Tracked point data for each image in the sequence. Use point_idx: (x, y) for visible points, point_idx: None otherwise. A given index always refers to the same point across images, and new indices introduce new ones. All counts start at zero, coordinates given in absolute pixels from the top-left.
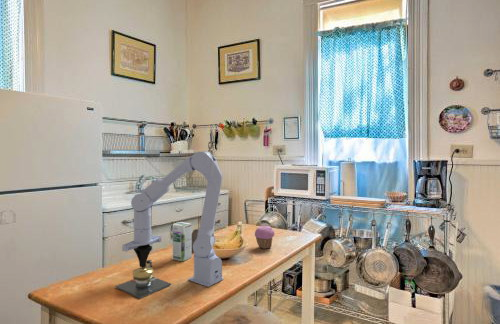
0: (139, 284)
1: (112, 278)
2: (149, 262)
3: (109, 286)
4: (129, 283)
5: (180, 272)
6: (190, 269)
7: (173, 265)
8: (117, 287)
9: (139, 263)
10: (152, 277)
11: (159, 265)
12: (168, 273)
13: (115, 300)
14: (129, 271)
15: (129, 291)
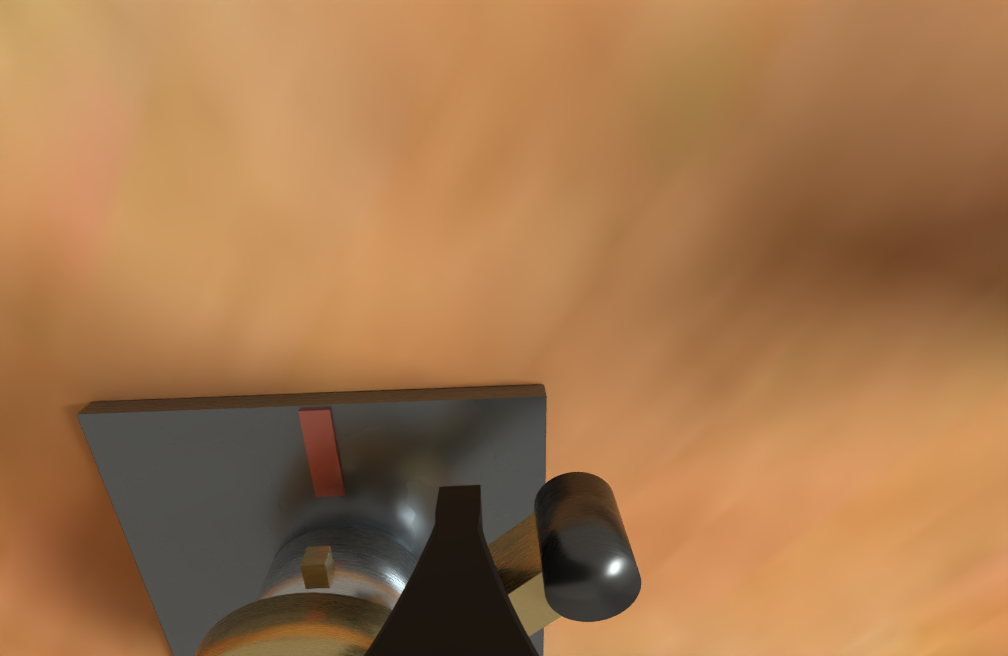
0: None
1: (155, 73)
2: (567, 604)
3: (38, 310)
4: (247, 469)
5: (828, 559)
6: (945, 571)
7: (1003, 352)
8: (96, 449)
9: (436, 513)
10: (528, 514)
11: (938, 197)
12: (745, 497)
13: (19, 617)
14: (502, 18)
15: (166, 613)
